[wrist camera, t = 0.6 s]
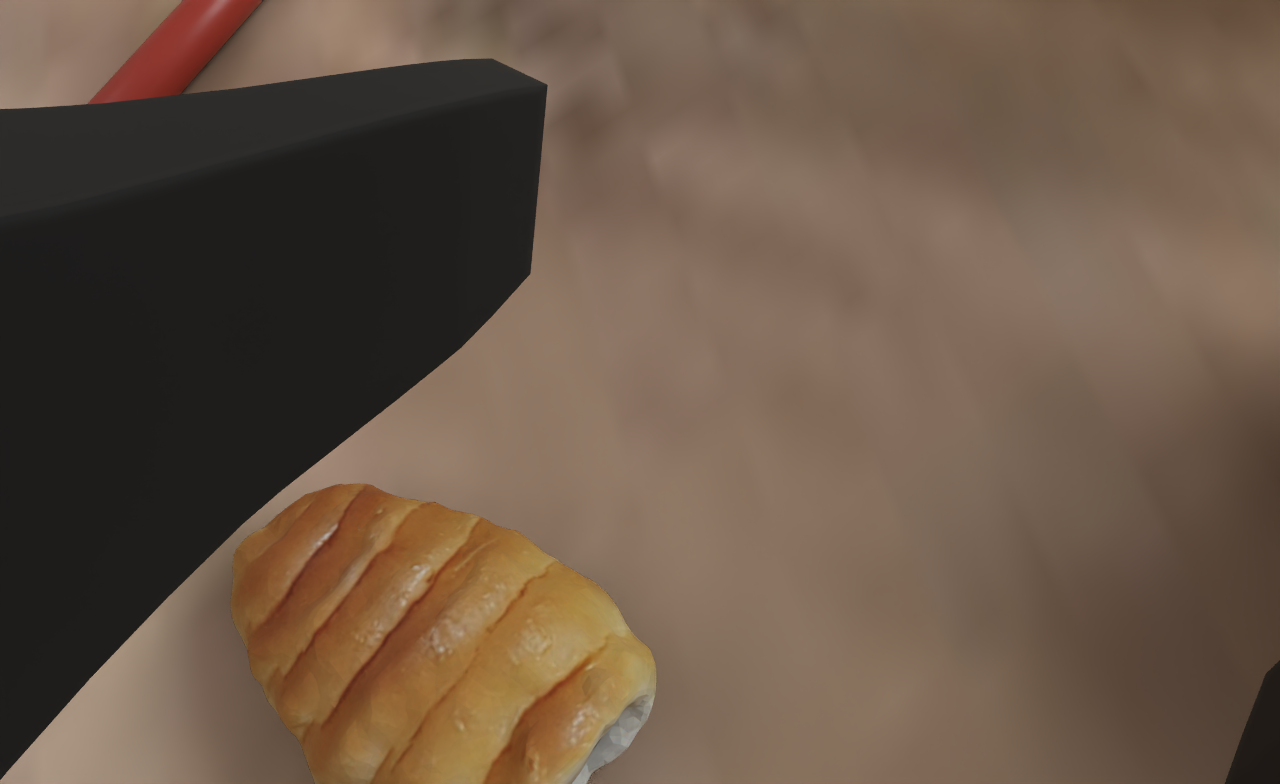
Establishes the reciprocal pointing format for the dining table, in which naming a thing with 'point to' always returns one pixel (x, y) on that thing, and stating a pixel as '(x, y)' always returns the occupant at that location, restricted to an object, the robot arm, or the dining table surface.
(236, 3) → the spoon
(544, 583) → the pastry
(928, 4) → the dining table surface
